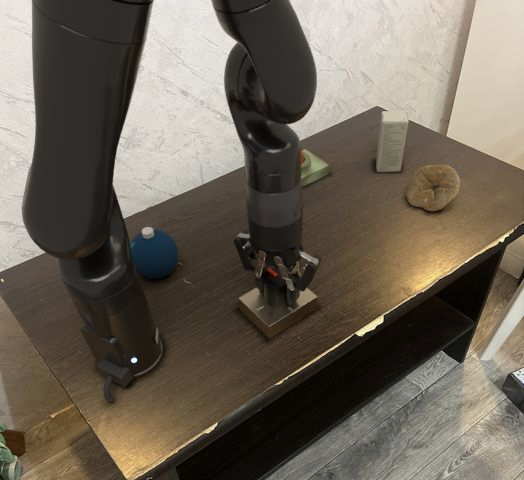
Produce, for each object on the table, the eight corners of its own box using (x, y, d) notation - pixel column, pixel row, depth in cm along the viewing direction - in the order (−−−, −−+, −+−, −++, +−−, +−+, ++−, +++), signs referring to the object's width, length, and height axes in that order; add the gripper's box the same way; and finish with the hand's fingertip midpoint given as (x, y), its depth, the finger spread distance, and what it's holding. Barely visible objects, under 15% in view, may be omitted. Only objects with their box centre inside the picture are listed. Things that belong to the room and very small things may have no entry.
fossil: (416, 160, 98) (467, 165, 92) (423, 168, 102) (472, 174, 96) (400, 204, 99) (449, 213, 93) (407, 211, 103) (455, 220, 97)
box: (399, 160, 108) (408, 110, 99) (400, 172, 106) (410, 121, 97) (374, 160, 109) (381, 110, 100) (375, 172, 106) (382, 121, 97)
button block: (284, 196, 102) (283, 178, 99) (261, 178, 107) (260, 161, 103) (328, 174, 106) (329, 157, 103) (304, 158, 111) (305, 141, 107)
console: (270, 340, 79) (269, 327, 77) (238, 309, 84) (237, 296, 81) (318, 310, 83) (318, 296, 80) (285, 282, 87) (284, 268, 85)
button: (293, 168, 102) (293, 160, 101) (282, 160, 104) (282, 152, 103) (307, 161, 103) (307, 153, 102) (296, 154, 105) (296, 146, 104)
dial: (297, 297, 81) (297, 275, 77) (276, 311, 79) (275, 289, 75) (278, 283, 83) (278, 261, 79) (258, 296, 81) (257, 274, 77)
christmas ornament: (145, 253, 94) (132, 209, 86) (188, 259, 92) (178, 214, 84) (128, 285, 89) (112, 240, 81) (173, 291, 87) (161, 246, 79)
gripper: (215, 208, 68) (228, 296, 81) (309, 239, 63) (307, 327, 77) (244, 179, 72) (252, 267, 85) (335, 206, 67) (328, 295, 80)
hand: (278, 295), depth 81 cm, fingers closed on dial, 4 cm apart
